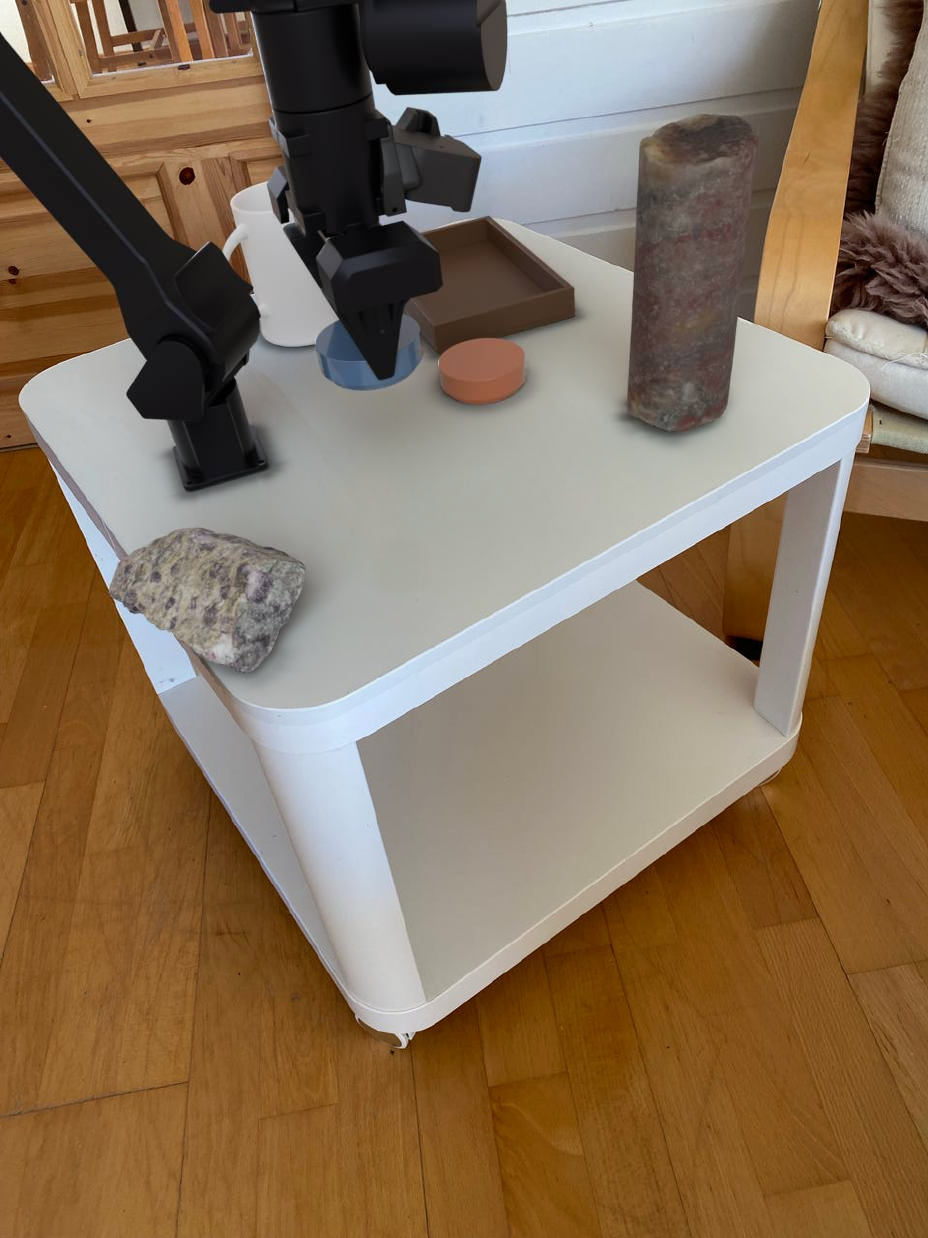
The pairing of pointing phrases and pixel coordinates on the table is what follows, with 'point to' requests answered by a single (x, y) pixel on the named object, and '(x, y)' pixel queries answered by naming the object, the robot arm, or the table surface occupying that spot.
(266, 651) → the rock
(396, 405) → the table surface
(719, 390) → the brown stone pillar
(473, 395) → the puck terracotta
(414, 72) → the robot arm
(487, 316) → the tray
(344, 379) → the blue puck
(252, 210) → the mug
